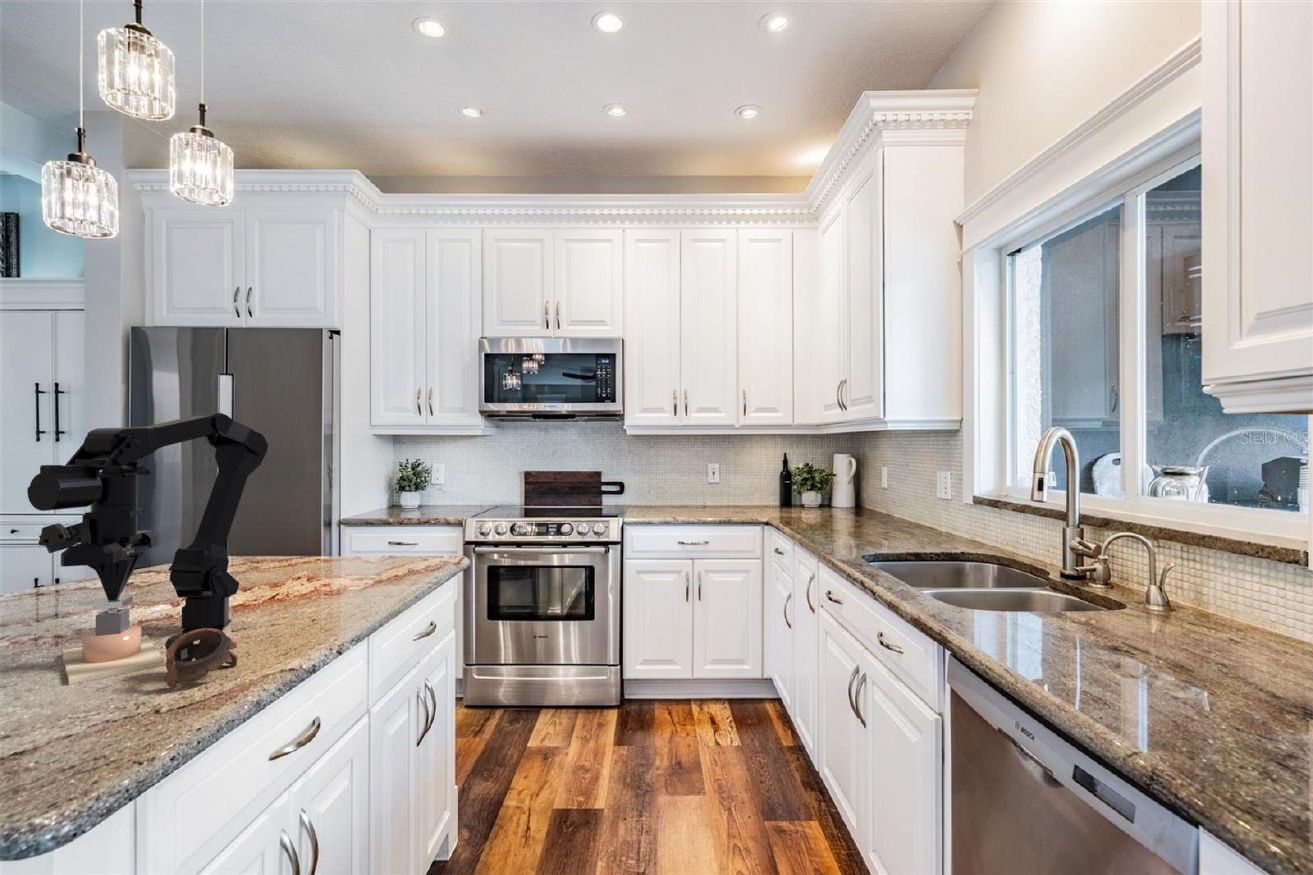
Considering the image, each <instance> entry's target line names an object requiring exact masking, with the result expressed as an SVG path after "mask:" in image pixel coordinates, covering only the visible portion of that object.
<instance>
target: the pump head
mask: <svg viewBox="0 0 1313 875" xmlns="http://www.w3.org/2000/svg"><path fill="white" fill-rule="evenodd" d="M132 603H133V595H127V596H125V595H124V596H119V598H118V599H116V600H108V598H107V597H102V598H101V599H95V600H82V601H81V600H80V601H79V602H77V606H78V607H87V606H88V607H89V606H92V610H93V611H95V610H108V613H118V609H123V608H124V607H126V606H128V605H129V604H132Z"/></svg>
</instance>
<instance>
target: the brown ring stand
mask: <svg viewBox="0 0 1313 875" xmlns="http://www.w3.org/2000/svg"><path fill="white" fill-rule="evenodd" d="M198 641H199V642H198ZM194 642H198V643H194ZM164 647H165V649H166V653H165V654H166V655H165V657H166V662H165V667H166V668H165V669H166V670H167V673H166V676H165V682H166V685H167V686H168V687H170V688H172V689H173V688H174V689H176V688H175V687H177V685H178V684H181V683H184V682H188V681H191V680H194V679H198V678H201V677H205V676H207V675H209V672H214V671H216V670H217V669H218V668H220V667H221V666H222V665H224V664H226V665H229V666H232V667H233V666H237V665H238V660H239V659H238V655H236V653H233V652H232V650H233V649H236V648H238V645H237V643H236V642H234V641H233V640H232V638H231V637H230V636H228V635H227V634H226V633H225V632H224V631H223V630H218V629H214V628H207V629H206V628H202V629H197V630H194V631H191V632H188V633H186V634H181V633H180V634H179V633H178V634H174V635H171V636H170V637H169V638H168V639H167V640H166V641H165V643H164ZM237 667H238V666H237Z"/></svg>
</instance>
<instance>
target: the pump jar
mask: <svg viewBox="0 0 1313 875" xmlns="http://www.w3.org/2000/svg"><path fill="white" fill-rule="evenodd" d="M141 637H142V626H140V625H133V624H132V625H131V624H130V607H129V608H118V613H108V609H104V610H103V611H101V612H99V613H97V614H96V615H95V630H92V631H89V632H86V633H84V634H83V635H82V637H81V640H82V641H81V642H82V643H81V647H82V662H85V663H103V662H110V661H116V660H120V659H124V658H128V657H131V656H134V655H136V654H138V653H140V652H141Z"/></svg>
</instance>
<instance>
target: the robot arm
mask: <svg viewBox="0 0 1313 875" xmlns="http://www.w3.org/2000/svg"><path fill="white" fill-rule="evenodd" d="M203 437H204V439H205V441H206V443H207V445H209V446H210V447H212V448H213V449H215V453H214V459H215V463H216V466H217V470H218V472H217V475H216V478H215V481H214V484H213V487H212V490H211V492H210V495H209V498H208V500H207V504H206V506H205V509H204V513H203V515H202V518H201V521H200V523H199V527H198V530H197V532H196V535H195V538H194V540H193V542H191V544H190V545H188V546H187V548H178V549H176V550H175V553H174V558H173V561H172V563H171V565H170V567H169V568H168V571H170V573H169V582H171V583H172V584H171V585H172V586H173V587H174V592H175V594H176V596H177V598H181V599H182V598H185V600H184V603H185V604H184V605H183V606H182V607H181V629H182V630H181V633H180V635H184V634H186V633H188V632H191V631H194V630H197V629H202V628H206V629H207V628H214V629H218V630H220V631H223V630H225V628H226V627H228V625H229V624H231V623H232V618H229V617H230V616H229V615H230V613H229V612H230V598H231V597H232V596H233V595H234V596H235V595H237V593H238V590H239V586H240V582H239V581H238V580H237V579H236V578H235V577H234V576H232V574H230V573H229V572H228V569H229V564H230V559H229V555H228V552H227V548H226V543H227V540H228V537H229V534H230V530H231V528H232V524H233V521H234V518H235V515H236V512H237V510H238V507H239V504H240V500H241V498H242V495H243V491H244V489H245V487H246V486H245V485H246V483H247V479H248V478H249V476H250V475H251V474H252V473H253V472H254V471H256V469H257V468H259V467H260V465H261V464H262V462H263V460H264V458H265V456H266V455H267V452H268V448H269V444H268V442H267V440H266V438H265V436H264V435H263V434H262V433H260V432H257V431H255V430H254V429H253V428H251V427H249V426H247V425H244V424H242V423H240V422H237V421H236V420H233V419H232V418H231V417H229V415H227V414H225V413H222V412H200V413H199V414H197V415H194V416H193V415H192V416H189V417H184V418H179V419H174V420H170V421H165V422H160V423H159V422H158V423H155V424H151V425H146V426H139V427H138V426H137V427H136V426H135V427H134V426H133V427H103V428H102V427H100V428H99V427H98V428H95V429H92V430H90V431H88V432H87V433H86V437H84V441H83V444H81V446H80V447H79V448H78V450H77V451H75V453H74V454H73V455H72V456H71V457H70V459H69V460H68V461H67V462H66V464H65V465H64V464H63V465H62V464H41V465H40V467H39V473H37V474H35V476H34V477H33V478H32V480H31V481H30V483H29V486H28V487H27V490H26V491H27V499H28V501H29V503H30V506H31V505H32V507H33V508H34V509H36V510H38V511H41V512H46V511H55V510H56V511H57V510H67V509H68V510H69V509H77V508H87V507H89V506H90V511H87V512H84V514H82V520H81V522H79V523H75V524H72V525H69V526H65V525H63V524H61V523H59V522H58V523H54V524H49V525H47V526H44V527H42V528H41V533H40V534H41V535H38V537H39V540H38V546H41V547H42V546H44V547H45V548H46V550H47V552H48V554H53V553H56V552H59V551H62V550H63V551H62V552H61V553H60V567H63V568H64V567H66V568H67V567H78V566H79V567H80V566H87V567H89V568H91V569H93V570H94V571H95V572H96V574H97V576H98V578H99V581H100V583H101V586H102V589H103V590H104V594H105V595H106V598H108V600H116V599H118V598H119V597H121V594H122V592H123V591H124V589H125V588H126V586H127V584H128V582H129V579H130V578H131V577H132V575H133V573H134V570H136V568H137V567H138V566H137V565H138V564H139V562H140V561H141V559H142V557H144V555H145V552H135V549H134V548H135V547H147V548H148V549H150V548H155V547H157V546H159V535H158V534H157V533H156V532H155V531H154V530H151V529H150V530H149V529H147V530H138V516H141V515H143V508H142V507H141V508H138V491H139V490H138V486H139V485H138V481H139V480H138V479H139V478H138V477H140V476H141V477H143V476H150V475H152V471H151V470H149V469H148V468H147V467H146V466H143V465H142V463H141V460H143V459H145V458H147V457H150V456H152V455H153V454H154V453H155V452H156V451H157V450H160V449H162V448H164V447H168V446H171V445H175V444H179V443H180V444H181V443H183V442H187V441H191V440H195V439H199V438H203ZM133 547H134V548H133Z"/></svg>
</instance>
